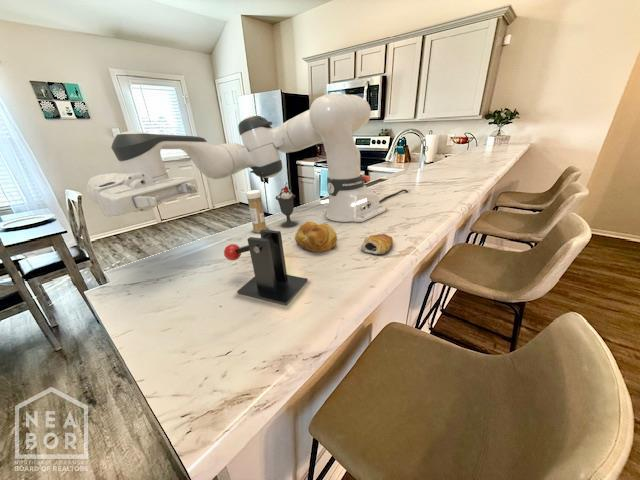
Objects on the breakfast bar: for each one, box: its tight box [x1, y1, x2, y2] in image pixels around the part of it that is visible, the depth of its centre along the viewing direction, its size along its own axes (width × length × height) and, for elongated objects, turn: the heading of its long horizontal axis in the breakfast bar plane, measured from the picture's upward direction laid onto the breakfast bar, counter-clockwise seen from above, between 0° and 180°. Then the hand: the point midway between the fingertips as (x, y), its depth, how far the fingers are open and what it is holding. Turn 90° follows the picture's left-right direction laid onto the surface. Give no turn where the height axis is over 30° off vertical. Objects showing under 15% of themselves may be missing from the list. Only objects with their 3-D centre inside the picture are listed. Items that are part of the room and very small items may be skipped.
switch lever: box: [223, 235, 276, 261], centre depth 55 cm, size 13×4×4 cm, turn 65°
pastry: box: [360, 233, 394, 255], centre depth 70 cm, size 9×7×4 cm
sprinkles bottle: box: [245, 189, 268, 234], centre depth 86 cm, size 5×5×13 cm
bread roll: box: [294, 221, 338, 254], centre depth 73 cm, size 13×10×8 cm
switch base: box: [236, 229, 309, 307], centre depth 54 cm, size 12×9×13 cm
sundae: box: [275, 181, 297, 228], centre depth 89 cm, size 7×7×15 cm
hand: (177, 194), depth 57 cm, fingers open, 8 cm apart
